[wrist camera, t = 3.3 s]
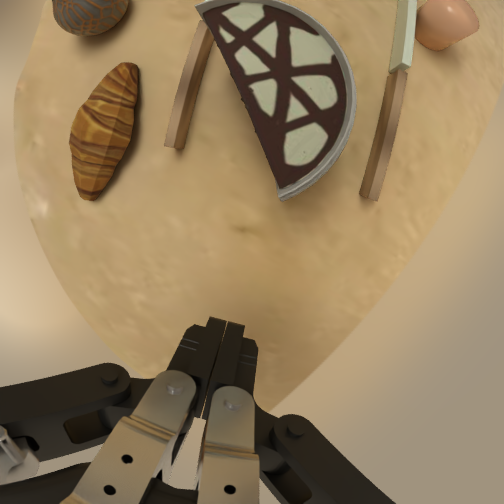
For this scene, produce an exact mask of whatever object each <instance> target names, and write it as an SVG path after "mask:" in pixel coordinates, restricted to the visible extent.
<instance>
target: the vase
mask: <svg viewBox="0 0 504 504" xmlns="http://www.w3.org/2000/svg"><path fill="white" fill-rule="evenodd" d="M52 2H53V14H54V18H55V20H56V22H57V23H58V24H59V26H60V27H61V28H62V29H64V30H65V31H67V32H69V33H72V34H75V35H79V36H93V35H98V34H100V33H103V32H105V31H107V30H109V29H110V28H112V27H113V26H114V25H116V24H117V23H118V22H119V21H120V19H121V18H122V17H123V15H124V14H125V12H126V10H127V6H128V2H129V0H52Z"/></svg>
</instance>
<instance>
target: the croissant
mask: <svg viewBox="0 0 504 504" xmlns="http://www.w3.org/2000/svg"><path fill="white" fill-rule="evenodd" d="M138 79H139V68H138V66H137V65H135V64H133V63H129V62H126V63H120V64H119V65H118V66H116V67H115V68H114V69H113V70H112V71H110V72H109V73H108V74H107V75H106V76H105V77H104V78H103V80H102V81H101V82H100V83H99V84H98V86H97V87H96V88H95V89H94V90H93V92H92V93H91V95H90V97H89V98H88V100H87V101H86V102H85V103H84V104H83V105H82V106H81V107H80V108H79V110H78V112H77V115H76V117H75V119H74V122H73V124H72V127H71V134H70V141H69V145H70V149H71V153H72V168H73V174H74V181H75V185H76V187H77V190H78V192H79V195H80V197H81V198H83V199H84V200H89V201H94V200H96V199H97V198H98V196H99V195H100V193H101V192H102V190H103V189H104V187H105V186H106V184H107V183H108V181H109V180H110V178H111V177H112V175H113V173H114V170H115V166H116V164H117V163H118V162H119V161H120V160H121V159H122V156H123V154H124V152H125V150H126V148H127V146H128V144H129V142H130V139H131V133H132V128H133V122H134V112H133V109H134V107H135V104H136V102H137V94H138Z"/></svg>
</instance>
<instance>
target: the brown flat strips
mask: <svg viewBox="0 0 504 504" xmlns="http://www.w3.org/2000/svg"><path fill="white" fill-rule="evenodd" d="M213 40H214V37H213V36H212V34H211V32H210V31H209V29H208V27H207V26H206V24H205V22H204V21H203V20H200V21H199V24H198V27H197V30H196V32H195V35H194V38H193V41H192V44H191V47H190V50H189V53H188V56H187V59H186V63H185V66H184V69H183V72H182V76H181V79H180V83H179V86H178V90H177V94H176V97H175V101H174V105H173V109H172V113H171V117H170V121H169V125H168V130H167V134H166V139H165V143H164V146H166V147H172V148H184V146H185V141H186V137H187V133H188V128H189V124H190V120H191V116H192V112H193V108H194V104H195V101H196V97H197V93H198V89H199V86H200V82H201V79H202V75H203V72H204V69H205V65H206V62H207V59H208V56H209V52H210V49H211V46H212V43H213ZM406 80H407V73H406V72H404V71H402V70H400V69H398V70H397V71H395V72H394V73H392V74H391V75H389V76H388V78H387V83H386V88H385V93H384V98H383V103H382V108H381V112H380V117H379V121H378V125H377V130H376V134H375V138H374V142H373V146H372V150H371V153H370V157H369V161H368V165H367V168H366V172H365V175H364V179H363V182H362V186H361V189H360V193H359V194H361V195H363V196H365V197H367V198H369V199H372V200H374V201H378V198H379V194H380V191H381V188H382V184H383V181H384V177H385V174H386V170H387V166H388V163H389V159H390V155H391V151H392V147H393V143H394V139H395V135H396V130H397V126H398V121H399V117H400V112H401V107H402V102H403V97H404V91H405V86H406Z"/></svg>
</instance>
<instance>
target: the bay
mask: <svg viewBox="0 0 504 504" xmlns="http://www.w3.org/2000/svg"><path fill="white" fill-rule="evenodd" d="M205 1H208V0H205ZM416 10H417V0H398V8H397V17H396V26H395V34H394V41H393V48H392V55H391V61H390V67H389V72H390V73H394V72H395V71H397V70H398V69H400V70H402V71H405V70H406V69H408V68H409V67H411V62H412V54H413V46H414V36H415V25H416Z"/></svg>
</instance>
